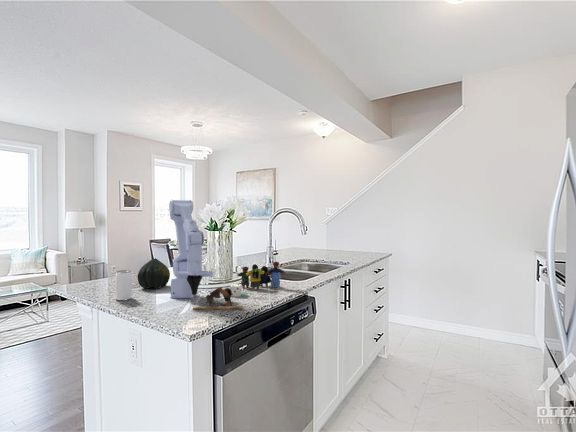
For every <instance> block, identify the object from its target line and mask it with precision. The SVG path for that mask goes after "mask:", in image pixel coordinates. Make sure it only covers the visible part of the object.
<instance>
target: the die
mask: <svg viewBox="0 0 576 432" xmlns="http://www.w3.org/2000/svg"><path fill="white" fill-rule="evenodd" d="M229 289H231V291H232V295H231V298H241V297H240V296H241V293H242V285H241V283H231V284H230V285H229Z"/></svg>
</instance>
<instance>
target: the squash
mask: <svg viewBox="0 0 576 432" xmlns="http://www.w3.org/2000/svg"><path fill="white" fill-rule="evenodd" d="M170 276H171V271H170V269H169V267H168V266H167V265H166V264H165V263H163V262H162V261H160V260H159V259H158V258H152V259H150V260H149V261H148V262H146V263H144V264H143V265H142V266H141V268H140V269H139V271H138V273H137V282H138V284H139V286H140V287H141V288H143V289H150V288H153V289H156V290H159V289H160V288H164V287H166V286H167V284H168V283H169V281H170V279H171V278H170Z"/></svg>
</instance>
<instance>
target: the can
mask: <svg viewBox="0 0 576 432" xmlns="http://www.w3.org/2000/svg"><path fill="white" fill-rule="evenodd" d="M114 281H115V282H114V283H115V284H114V286H115V300H116V299H117V300H125V299H130V298H131V299H132V298H133V273H132V270H129V269H127V270H126V269H124V270H122V269H121V270H117V271H116V273H115V279H114ZM131 299H130V300H131ZM117 300H116V301H117ZM125 301H126V300H125Z"/></svg>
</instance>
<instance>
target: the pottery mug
mask: <svg viewBox="0 0 576 432" xmlns="http://www.w3.org/2000/svg"><path fill="white" fill-rule="evenodd" d="M221 294H222V296H223V299H224V301H225V303H224V304H225V306H233V303H232V300H231V298H232V297H231V295H232V291H231V289H230V287H226V288H225V289H223V288H222V286H221V287H220V286H219V287H218V288H216V289H214V290H213V291H211V292H210V294H207V295H205V299H206V304H213V303H214V298H215V299H221Z"/></svg>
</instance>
